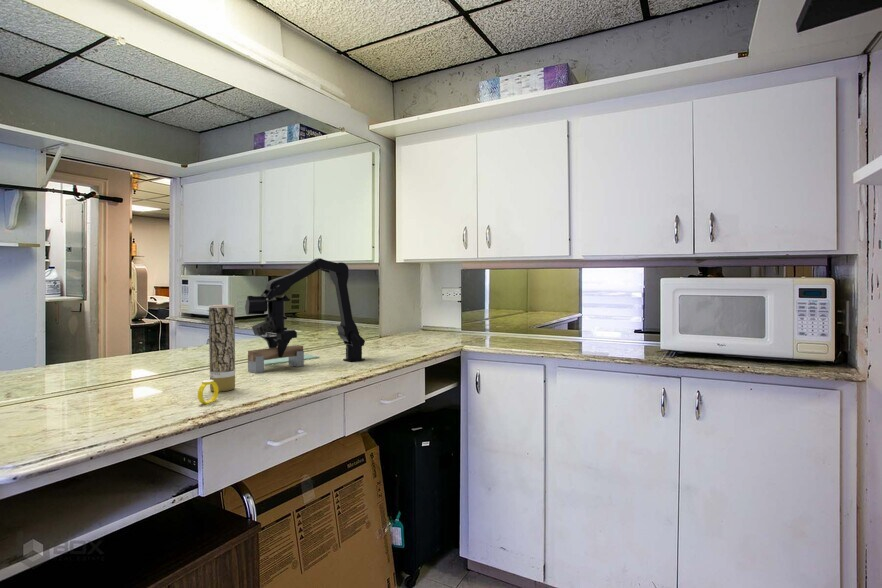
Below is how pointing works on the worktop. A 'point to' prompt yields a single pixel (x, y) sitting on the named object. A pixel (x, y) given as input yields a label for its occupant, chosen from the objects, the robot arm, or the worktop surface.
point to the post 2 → (297, 359)
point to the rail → (274, 353)
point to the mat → (286, 360)
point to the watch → (200, 391)
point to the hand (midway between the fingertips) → (276, 356)
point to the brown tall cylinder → (222, 346)
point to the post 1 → (256, 365)
